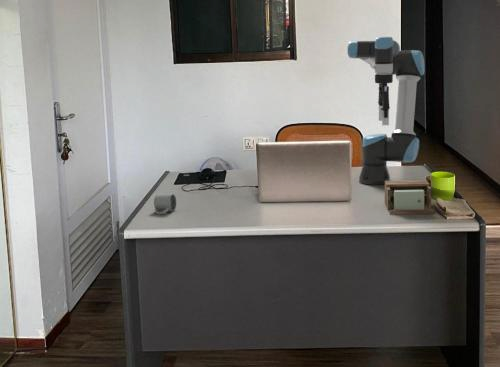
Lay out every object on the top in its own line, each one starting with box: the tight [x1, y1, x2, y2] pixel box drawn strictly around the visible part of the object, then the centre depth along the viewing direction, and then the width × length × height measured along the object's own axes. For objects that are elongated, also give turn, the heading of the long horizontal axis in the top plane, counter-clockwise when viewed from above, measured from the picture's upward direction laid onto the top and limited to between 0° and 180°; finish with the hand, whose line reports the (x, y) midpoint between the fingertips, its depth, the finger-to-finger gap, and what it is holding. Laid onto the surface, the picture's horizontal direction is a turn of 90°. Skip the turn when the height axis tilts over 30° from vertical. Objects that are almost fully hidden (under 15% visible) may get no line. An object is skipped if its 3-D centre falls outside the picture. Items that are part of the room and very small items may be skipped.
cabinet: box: [384, 179, 435, 215], centre depth 326 cm, size 18×18×10 cm
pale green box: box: [394, 190, 424, 210], centre depth 320 cm, size 4×12×9 cm, turn 87°
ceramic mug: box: [153, 193, 177, 215], centre depth 335 cm, size 11×8×8 cm
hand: (383, 122), depth 334 cm, fingers open, 13 cm apart
